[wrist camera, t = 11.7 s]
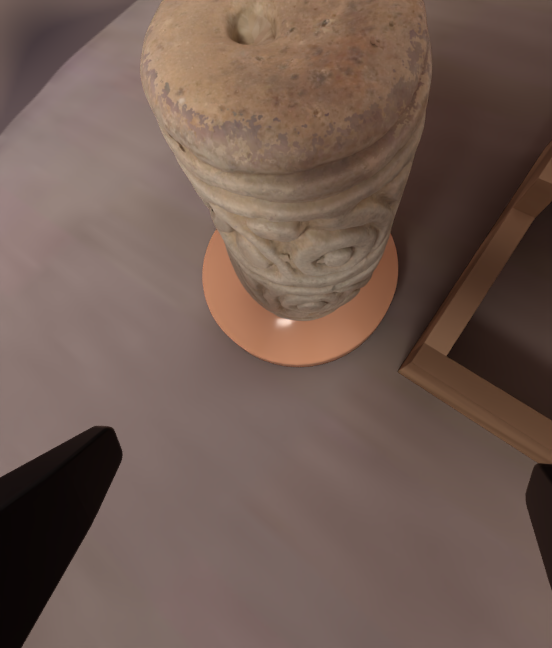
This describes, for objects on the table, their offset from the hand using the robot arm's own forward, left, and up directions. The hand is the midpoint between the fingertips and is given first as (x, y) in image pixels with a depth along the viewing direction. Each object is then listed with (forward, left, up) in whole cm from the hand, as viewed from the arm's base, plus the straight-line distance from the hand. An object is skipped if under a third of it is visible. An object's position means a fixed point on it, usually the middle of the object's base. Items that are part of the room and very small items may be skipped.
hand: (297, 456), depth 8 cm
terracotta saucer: (+4, +8, -10) cm, 13 cm away
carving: (+4, +7, -9) cm, 12 cm away
